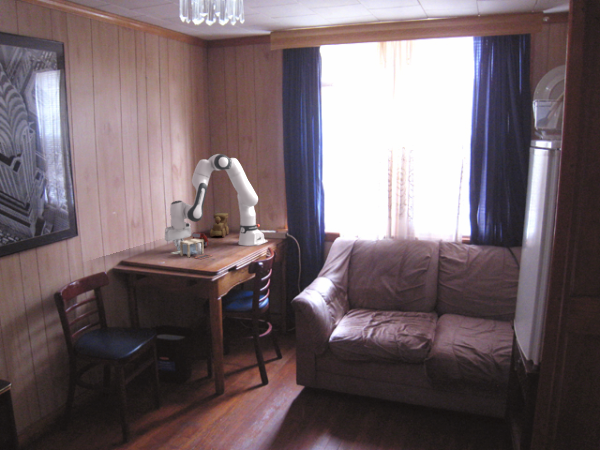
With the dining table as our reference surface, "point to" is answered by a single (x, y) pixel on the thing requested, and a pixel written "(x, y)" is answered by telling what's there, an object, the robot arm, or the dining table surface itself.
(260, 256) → the dining table surface
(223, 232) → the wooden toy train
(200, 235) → the toy fire truck
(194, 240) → the tunnel
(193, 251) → the sled
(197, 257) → the pit
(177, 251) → the pad
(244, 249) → the dining table surface
